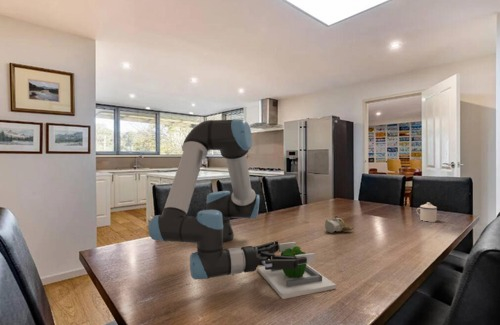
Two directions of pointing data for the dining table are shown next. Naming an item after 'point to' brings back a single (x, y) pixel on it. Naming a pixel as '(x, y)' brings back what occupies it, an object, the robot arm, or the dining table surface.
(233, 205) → the robot arm
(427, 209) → the teacup with lid
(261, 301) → the dining table surface
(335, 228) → the garlic bulb
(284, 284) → the board
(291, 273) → the bell pepper
